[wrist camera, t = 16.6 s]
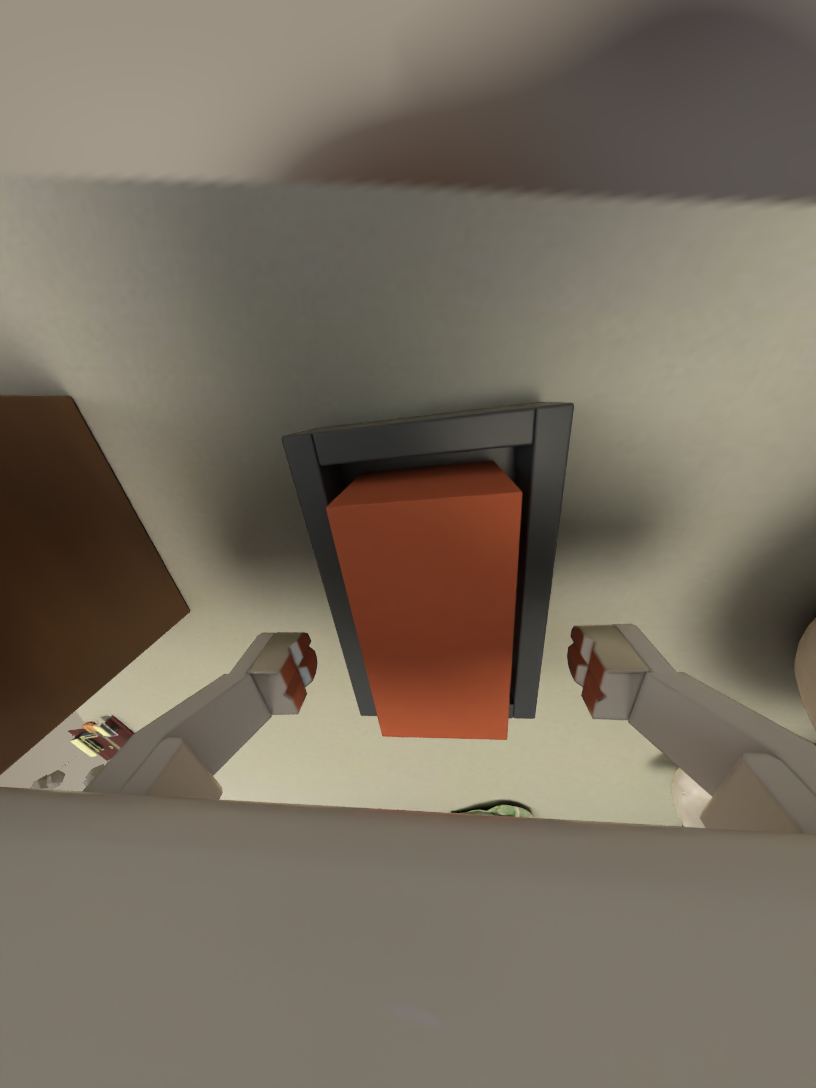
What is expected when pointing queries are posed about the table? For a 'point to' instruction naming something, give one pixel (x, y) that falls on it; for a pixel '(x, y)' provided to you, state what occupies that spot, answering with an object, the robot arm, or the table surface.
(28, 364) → the table surface
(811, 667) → the vase
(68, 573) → the brown rectangular block
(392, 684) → the orange rectangular block
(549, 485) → the dark gray rectangular tray
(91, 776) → the flared maroon circuit board
